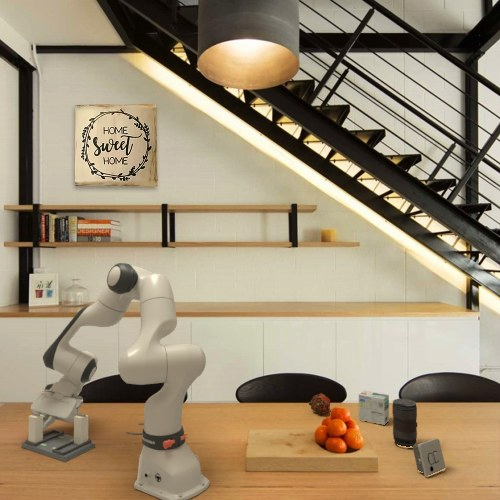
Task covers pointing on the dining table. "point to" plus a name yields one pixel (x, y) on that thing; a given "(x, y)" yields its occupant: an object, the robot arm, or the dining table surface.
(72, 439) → the grey rectangular board
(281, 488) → the dining table surface
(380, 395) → the light bulb box
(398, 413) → the camera lens
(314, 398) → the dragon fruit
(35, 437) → the tab far
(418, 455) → the electrical switch
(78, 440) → the tab near
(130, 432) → the pliers
